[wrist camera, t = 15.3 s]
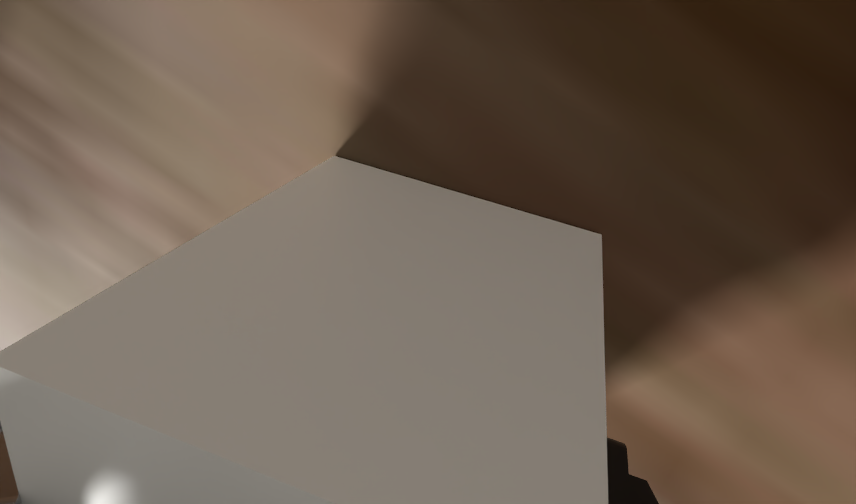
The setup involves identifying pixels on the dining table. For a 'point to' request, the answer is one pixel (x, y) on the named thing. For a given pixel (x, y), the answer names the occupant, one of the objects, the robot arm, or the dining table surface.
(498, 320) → the white matte cube
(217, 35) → the dining table surface
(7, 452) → the robot arm
